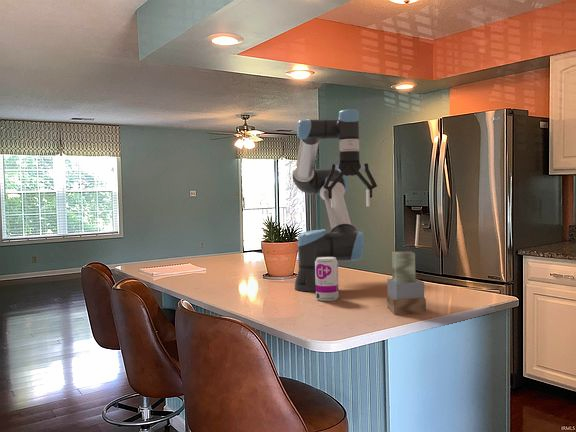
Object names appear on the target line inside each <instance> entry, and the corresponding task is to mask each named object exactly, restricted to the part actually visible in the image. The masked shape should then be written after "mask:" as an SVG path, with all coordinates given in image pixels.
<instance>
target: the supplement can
mask: <svg viewBox="0 0 576 432" xmlns="http://www.w3.org/2000/svg"><path fill="white" fill-rule="evenodd" d="M315 282H316V291H315V298H316V299H317V300H318V301H321V302H334V301H336V300H338V298H339V261H337V260H336V257H318V258H317V259H316V261H315Z"/></svg>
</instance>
